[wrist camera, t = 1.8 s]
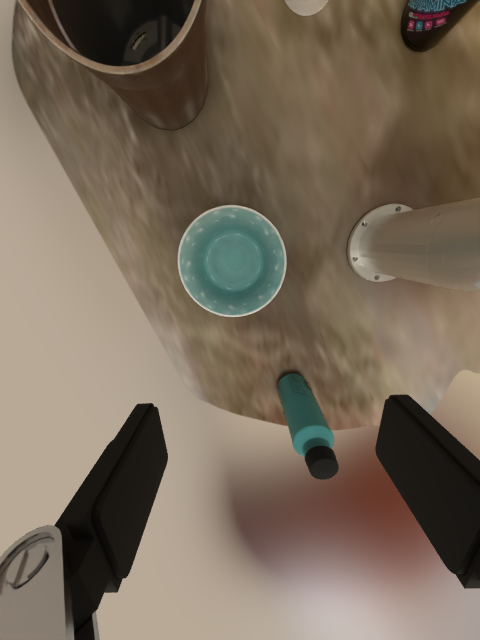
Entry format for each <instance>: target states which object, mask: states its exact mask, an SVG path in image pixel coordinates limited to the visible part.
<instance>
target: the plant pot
mask: <svg viewBox="0 0 480 640" xmlns="http://www.w3.org/2000/svg"><path fill="white" fill-rule="evenodd" d="M18 1H19V2H20V4H21V6H22V7H23V8H24V10H25V11H26V12H27V14H28V15H29V17H30V18H31V19H32V20H33V22H34V23H35V24H36V26H37V27H38V28H39V29H40V30H41V31H42V32H43V34H44V35H45V36H46V37H47V38H48V39H49V40H50V41H51V42H52V43H53V44H54V45H55V46H57V47H58V48H59V49H60V50H61V51H62V52H64V53H65V54H66V55H67V56H69V57H70V58H72V59H73V60H75V61H76V62H78V63H80V64H81V65H83V66H85V67H86V68H87V69H88V70H89V71H90V72H92V73H93V74H94V75H95V76H97V77H98V78H100V79H101V80H103V81H105V82H106V83H107V84H108V85H109V86H110V87H111V88H112V89H113V90H114V91H115V92H116V93H117V94H118V95H119V96H120V97H121V98H122V99H123V100H124V101H125V102H126V103H127V104H128V105H129V106H130V107H131V108H132V109H133V110H134V111H135V112H136V113H137V114H138V115H139V116H140V117H141V118H142V119H143V120H145V121H146V122H147V123H149V124H150V125H152V126H154V127H156V128H163V129H170V130H175V129H179V128H182V127H184V126H186V125H187V124H189V123H190V122H191V121H192V120H193V119H194V118H195V117H196V116H197V115H198V113H199V112H200V110H201V108H202V106H203V104H204V101H205V98H206V95H207V86H208V70H207V54H206V37H205V11H206V0H18ZM144 32H145V33H146V35H145V37H144V38H143V40H142V41H141V42H140V44H139V45H138V46H137V48H136V49H135V50H133V49H132V45H133V43H134V42H135V40H136V39H137V38H138V37H139V36H140V35H141V34H142V33H144Z"/></svg>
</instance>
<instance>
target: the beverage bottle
mask: <svg viewBox="0 0 480 640" xmlns="http://www.w3.org/2000/svg"><path fill="white" fill-rule="evenodd" d="M307 383H308V382H306V380H305V379H304V378H303V377H302V376H301V375H298V374H288V375H286V376H284V377H283V378H281V380H280V381H279V384H278V392H279V393H278V395H279V396H280V398H279V399H281V401H280V402H281V406H283V409H282V410H284V411H283V413H284V415H285V417H286V419H285V420H287V421H286V422H287V424H288V427H289V431H290V434H291V438H292V441H293V446H294V449H295V450H296V452H298V453H299V454H300V455H302V456H304V457H305V461H306V464H307V466H308V469H309V471H310V473H311V475H312V476H313V477H315V478H317V479H329V478H331V477H333V476H334V475H335V474H336V473H337V472H338V468H339V467H338V463H337V460H336V457H335V454H334V452H333V450H332V449H331V448H332V446H333V444H334V435H333V433H332V431H331V430H330V428H329V426H328V424H327V422H326V420H325V418H324V416H323V414H322V411H321V409H320V407H319V404H318V403H317V402H318V401H316V399H315V398H316V397H315V396H314V395H313V393H312V391H311V389H310V387H309V386H308V384H307Z"/></svg>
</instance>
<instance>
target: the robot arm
mask: <svg viewBox="0 0 480 640" xmlns="http://www.w3.org/2000/svg"><path fill="white" fill-rule="evenodd" d="M395 210H396V211H395ZM362 223H363V226H362ZM347 256H348V261H349V263H350V266H351V268H352V269H353V270H354V272H355V273H356V274H357V275H359V276H360V277H362V278H364V279H366V280H369V281H373V282H385V281H390V280H392V279H395V278H402V279H406V280H411V281H415V282H420V283H424V284H429V285H434V286H438V287H443V288H448V289H453V290H457V291H463V292H480V197H478V198H473V199H468V200H463V201H457V202H452V203H447V204H442V205H436V206H431V207H426V208H421V209H415V210H413V209H412V208H410V207H408V206H406V205H402V204H388V205H384V206H380V207H378V208H375V209H373V210H371V211H370V212H368V213H367V214H366V215H364V216H363V217H362V218H361V219H360V220H359V222H358V223H357V224H356V225H355V227H354V229H353V231H352V232H351V235H350V238H349V240H348V246H347ZM353 257H354V259H353ZM374 277H375V278H374ZM376 455H377V457H378V459H379V461H380V462H381V464H382V465H383V467H384V468H385V470H386V472H387V473H388V475H389V477H390V478H391V480H392V481H393V483H394V484H395V486H396V488H397V489H398V491H399V492H400V494H401V496H402V497H403V499H404V500H405V502H406V504H407V505H408V506H409V508H410V510H411V512H412V513H413V515H414V516H415V518H416V520H417V521H418V523H419V524H420V526H421V527H422V529H423V531H424V532H425V534H426V535H427V537H428V539H429V540H430V542H431V543H432V545H433V546H434V548H435V550H436V551H437V553H438V554H439V556H440V558H441V559H442V561H443V563H444V564H445V566H446V567H447V568H448V569H449V570H450V571H451V572H452V573H454V574H456V576H457V577H458V579H459V580H460V582H461V584H462V585H463V587H464V588H480V460H479V459H478V458H476V457H475V456H474V455H473V454H472V453H471V452H470V451H469V450H468V449H467V448H465V446H463V445H462V444H461V443H460V442H459V441H458V440H457V439H456V438H455V437H453V435H451V434H450V433H449V432H448V431H447V430H446V429H445V428H444V427H443V426H441V424H439V423H438V422H437V421H436V420H435V419H434V418H433V417H432V416H431V415H430V414H429V413H428V412H426V411H425V410H424V409H423V408H422V407H421V406H420V405H419V404H418V403H417V402H416V401H415V400H413V399H412V398H411V397H410V396H409V395H390V396H389V399H386V400H385V404H384V409H383V414H382V419H381V424H380V428H379V434H378V438H377V443H376ZM167 460H168V453H167V449H166V444H165V440H164V435H163V430H162V425H161V421H160V416H159V411H158V408H157V407H154V405H153V404H152V403H148V404H147V403H146V404H137V405H136V406H135V408H134V409H133V411H132V413H131V414H130V416H129V417H128V419H127V420H126V422H125V423H124V425H123V426H122V428H121V429H120V431H119V432H118V434H117V436H116V437H115V439H114V440H112V441H111V442H110V443H109V444H108V446H107V447H106V449H105V450H104V452H103V453H102V455H101V456H100V458H99V459H98V461H97V462H96V464H95V465H94V467H93V469H92V470H91V471H90V473H89V474H88V476H87V477H86V479H85V480H84V482H83V483H82V485H81V486H80V488H79V489H78V491H77V492H76V494H75V495H74V497H73V498H72V500H71V501H70V503H69V505H68V506H67V507H66V509H65V510H64V512H63V513H62V515H61V516H60V518H59V519H58V521H57V522H56V524H55V525H54V526H51V525H46V526H43V527H39V528H36V529H35V530H32V531H31V532H29V533H27V534H25V535H24V536H23V537H22V538H20V539H19V540H17V541H16V542H15V543H14V544H13V545H11V546H10V547H9V548H8V550H6V551H5V552H4V553H3V555H2V556H1V557H0V640H100V639H99V631H98V623H97V616H96V610H97V609H98V607H99V604H100V602H101V599H102V596H103V594H104V592H105V593H106V592H107V593H109V592H118V590H119V587H120V584H121V582H122V579H123V578H126V577H127V576H128V574H129V572H130V570H131V567H132V564H133V561H134V559H135V556H136V553H137V550H138V547H139V544H140V541H141V538H142V535H143V532H144V529H145V526H146V523H147V520H148V517H149V514H150V512H151V509H152V506H153V503H154V500H155V497H156V494H157V491H158V488H159V485H160V482H161V479H162V476H163V473H164V470H165V468H166V465H167Z"/></svg>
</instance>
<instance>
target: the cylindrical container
mask: <svg viewBox="0 0 480 640" xmlns="http://www.w3.org/2000/svg"><path fill="white" fill-rule="evenodd" d="M328 1H329V0H285V2H286V4H287V5H288V7H289V8H290V9H291V10H292V11H293V12H294V13H296V14H298V15H301V16H310V15H314V14H316V13H317V12H319V11H320V10H321V9H322V8H323V7H324V6H325V5H326V4H327V2H328Z"/></svg>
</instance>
